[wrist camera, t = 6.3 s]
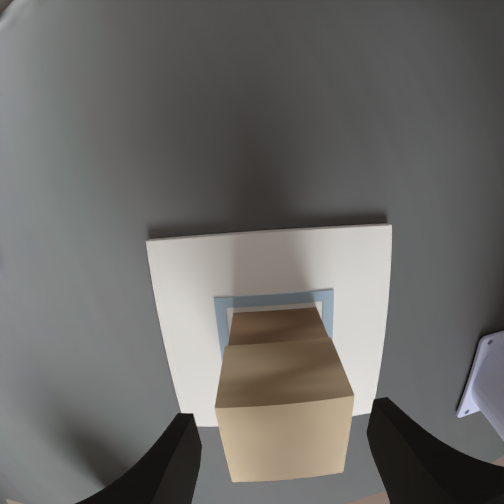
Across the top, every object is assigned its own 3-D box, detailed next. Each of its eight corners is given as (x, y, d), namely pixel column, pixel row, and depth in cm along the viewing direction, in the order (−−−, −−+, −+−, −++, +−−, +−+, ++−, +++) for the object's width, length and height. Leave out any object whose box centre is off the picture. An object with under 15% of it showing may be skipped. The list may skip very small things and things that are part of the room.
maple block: (330, 336, 13) (354, 395, 9) (327, 412, 14) (342, 472, 10) (225, 345, 13) (214, 407, 9) (236, 420, 14) (232, 481, 10)
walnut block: (316, 306, 17) (331, 344, 13) (314, 373, 18) (326, 417, 14) (233, 312, 17) (226, 352, 13) (240, 378, 18) (237, 424, 14)
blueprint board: (387, 223, 16) (392, 225, 16) (369, 407, 20) (372, 413, 19) (149, 239, 17) (145, 241, 16) (186, 420, 20) (184, 426, 19)
